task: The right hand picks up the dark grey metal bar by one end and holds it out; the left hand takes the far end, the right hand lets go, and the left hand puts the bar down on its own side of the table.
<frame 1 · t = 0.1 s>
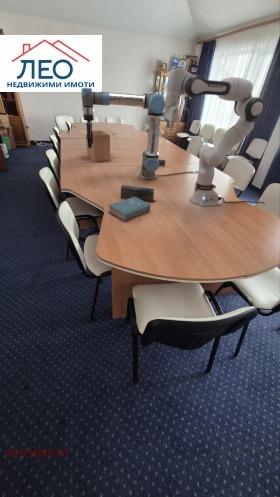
left hand: (90, 145, 173), 28 cm above the table, tool pointing down, fingers open, 13 cm apart
right hand: (169, 128, 137), 48 cm above the table, tool pointing down, fingers open, 8 cm apart
laser sight: (154, 164, 240), on the table
box: (98, 158, 248), on the table
book: (129, 211, 148), on the table
bar: (137, 198, 165), on the table
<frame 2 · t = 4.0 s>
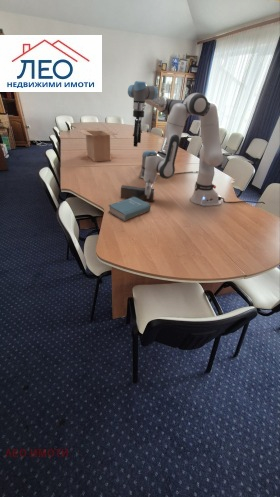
left hand: (137, 144, 160), 34 cm above the table, tool pointing down, fingers open, 13 cm apart
right hand: (148, 196, 163), 3 cm above the table, tool pointing down, fingers closed on bar, 5 cm apart
bar: (137, 198, 165), on the table, touching right hand
everything else where it was.
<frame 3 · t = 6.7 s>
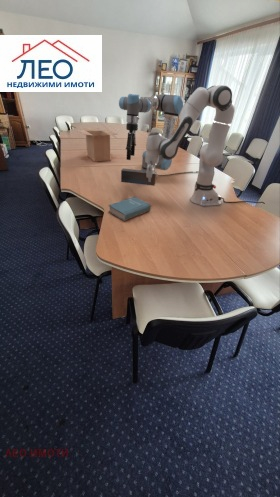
left hand: (130, 157, 155), 27 cm above the table, tool pointing down, fingers open, 13 cm apart
right hand: (150, 180, 156), 15 cm above the table, tool pointing down, fingers closed on bar, 5 cm apart
bar: (138, 182, 158), point 12 cm above the table, touching right hand
everything else where it was.
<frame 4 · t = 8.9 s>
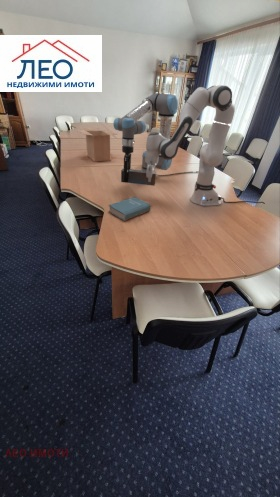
left hand: (126, 180, 158), 13 cm above the table, tool pointing down, fingers closed on bar, 5 cm apart
right hand: (150, 180, 156), 15 cm above the table, tool pointing down, fingers closed on bar, 5 cm apart
bar: (138, 182, 158), point 12 cm above the table, touching left hand, right hand
everything else where it was.
when the right hand's fingers open (15 cm above the table, at t = 9.6 s): bar stays where it is, held by the left hand.
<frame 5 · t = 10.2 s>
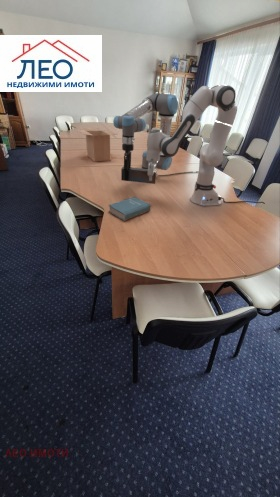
left hand: (127, 178, 158), 14 cm above the table, tool pointing down, fingers closed on bar, 5 cm apart
right hand: (151, 178, 155), 17 cm above the table, tool pointing down, fingers open, 8 cm apart
bar: (138, 181, 158), point 14 cm above the table, touching left hand
everything else where it was.
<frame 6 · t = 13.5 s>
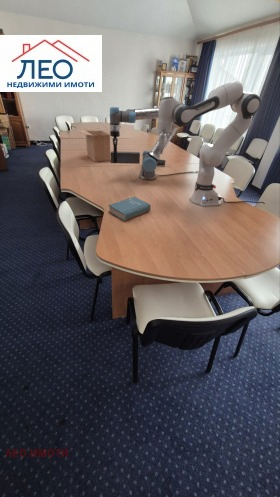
left hand: (115, 161, 185), 16 cm above the table, tool pointing down, fingers closed on bar, 5 cm apart
right hand: (161, 152, 144), 34 cm above the table, tool pointing down, fingers open, 8 cm apart
bar: (125, 162, 186), point 15 cm above the table, touching left hand
everything else where it was.
when the left hand's fingers open (2 cm above the table, at t = 18.1 s): bar drops 1 cm, on the table.
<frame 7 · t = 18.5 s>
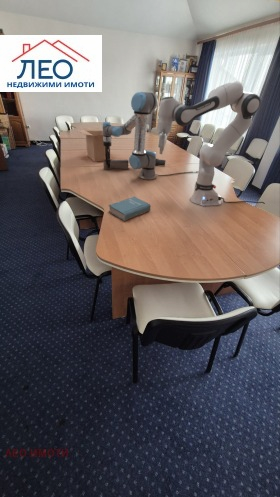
left hand: (107, 165, 217), 3 cm above the table, tool pointing down, fingers open, 10 cm apart
right hand: (161, 152, 144), 34 cm above the table, tool pointing down, fingers open, 8 cm apart
bar: (116, 168, 221), on the table
everything else where it was.
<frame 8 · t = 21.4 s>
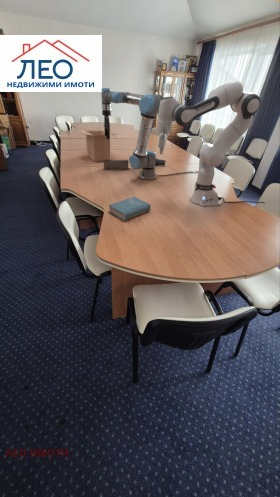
left hand: (107, 137, 202), 28 cm above the table, tool pointing down, fingers open, 13 cm apart
right hand: (161, 152, 144), 34 cm above the table, tool pointing down, fingers open, 8 cm apart
nothing on the table moved.
at the end: bar inside the target area (8.1 cm from its centre), on the table; the left hand is holding nothing; the right hand is holding nothing; bar at rest at the end (0.0 cm/s) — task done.
